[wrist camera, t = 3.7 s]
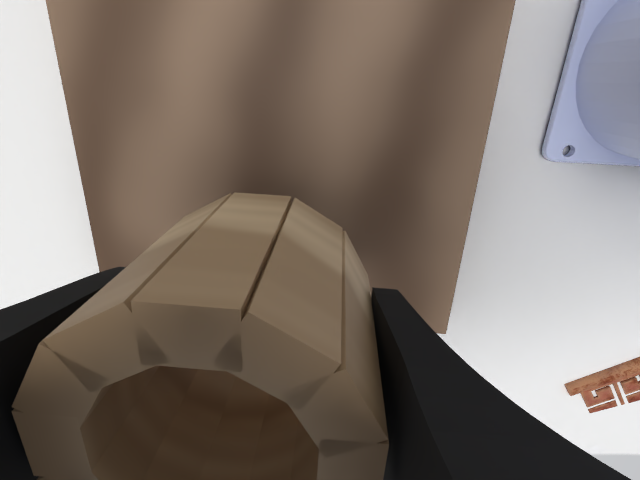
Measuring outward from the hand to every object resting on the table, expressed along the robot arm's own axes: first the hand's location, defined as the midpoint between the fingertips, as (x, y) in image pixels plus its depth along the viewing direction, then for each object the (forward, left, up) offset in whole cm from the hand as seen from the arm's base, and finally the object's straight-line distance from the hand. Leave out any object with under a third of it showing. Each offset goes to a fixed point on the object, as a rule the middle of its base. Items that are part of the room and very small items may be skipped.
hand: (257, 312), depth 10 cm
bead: (0, 0, -1) cm, 1 cm away
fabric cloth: (+1, -2, -10) cm, 11 cm away
